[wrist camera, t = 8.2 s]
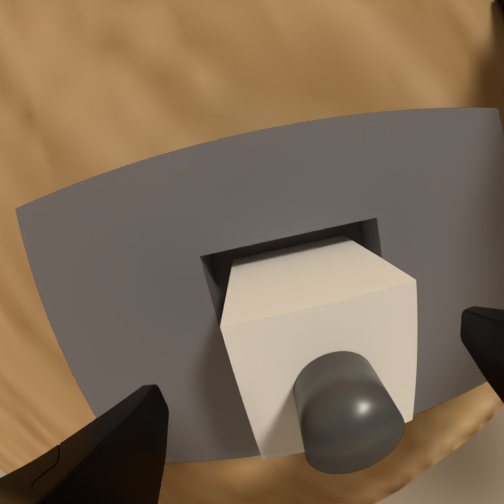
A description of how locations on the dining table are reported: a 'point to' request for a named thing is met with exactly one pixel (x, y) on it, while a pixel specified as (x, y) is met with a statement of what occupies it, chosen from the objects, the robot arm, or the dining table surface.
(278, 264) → the plug
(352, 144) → the socket plate
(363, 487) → the dining table surface
